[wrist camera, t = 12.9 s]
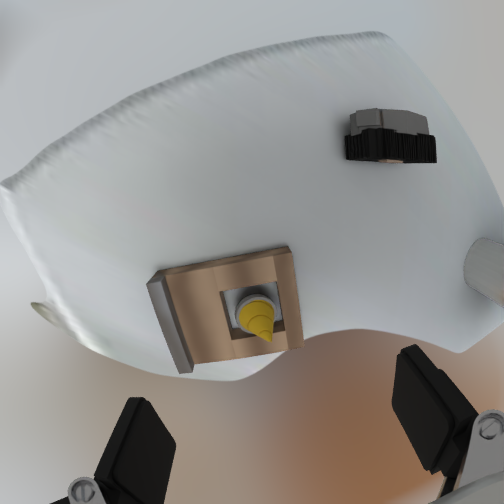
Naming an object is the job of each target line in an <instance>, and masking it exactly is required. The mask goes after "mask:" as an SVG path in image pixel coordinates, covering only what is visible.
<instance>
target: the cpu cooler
mask: <svg viewBox="0 0 504 504" xmlns="http://www.w3.org/2000/svg"><path fill="white" fill-rule="evenodd" d="M350 125H351V134H350V135H348V136H345V147H346V160H355V161H375V162H385V163H437V158H436V140H435V137H434V136H433V135H429V129H428V123H427V119H426V117H425V116H422V115H419V114H416V113H413V112H410V111H404V110H387V109H377V108H374V109H366V110H358V111H356V113H354V114H351V115H350Z"/></svg>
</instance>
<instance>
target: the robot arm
mask: <svg viewBox="0 0 504 504" xmlns="http://www.w3.org/2000/svg"><path fill="white" fill-rule="evenodd" d="M464 279H465V281H466V283H467V285H468V286H470V287H472V288H473V289H475V290H477V291H478V292H480V293H481V294H483V295H485V296H486V297H488V298H489V299H491V300H492V301H494V302H496V303H497V304H499V305H500V306H502V307H503V308H504V245H502V244H499V243H497V242H494V241H491V240H489V239H486V238H481V239H479V240H477V241H476V242H475V243H474V244H473V245H472V246H471V248H470V249H469V251H468V254H467V256H466V259H465V263H464ZM392 407H393V410H394V412H395V413H396V415H397V417H398V419H399V421H400V423H401V425H402V427H403V428H404V430H405V432H406V434H407V436H408V438H409V440H410V442H411V444H412V446H413V448H414V450H415V452H416V454H417V456H418V457H419V459H420V462H421V464H422V466H423V468H424V469H425V470H426V471H427V470H430V472H431V474H432V475H433V474H434V473H436V472H438V471H440V470H441V472H442V474H443V475H444V476H445V477H444V480H443V484H442V486H441V489H440V491H439V494H438V496H437V499H436V500H435V501H433V502H431V503H428V504H504V413H503V412H501V411H498V410H487V411H485V412H482V413H481V414H480V415H479V414H478V413H477V411H476V410H475V409H474V408H473V406H472V405H471V404H470V403H469V401H468V400H467V399H466V397H465V396H464V395H463V394H462V393H461V392H460V390H459V389H458V388H457V386H456V385H455V384H454V383H453V382H452V380H451V379H450V378H449V377H448V376H447V374H446V373H445V372H444V371H443V370H441V369H438V368H437V367H436V366H435V365H434V364H433V363H432V361H431V360H430V359H429V358H428V357H427V356H426V354H425V353H424V352H423V351H422V350H421V349H420V348H419V346H417V345H416V344H414V345H411V346H408V347H406V348H403V349H401V352H400V354H398V355H397V362H396V372H395V380H394V388H393V396H392ZM175 450H176V443H175V441H174V439H173V437H172V436H171V434H170V433H169V432H168V430H167V428H166V427H165V425H164V424H163V422H162V421H161V419H160V418H159V416H158V414H157V413H156V411H155V410H154V408H153V406H152V405H151V403H150V402H149V401H147V400H146V399H145V398H143V397H130V398H129V399H128V400H127V402H126V404H125V407H124V409H123V411H122V413H121V415H120V417H119V420H118V421H117V424H116V426H115V428H114V430H113V433H112V435H111V437H110V439H109V441H108V444H107V446H106V448H105V450H104V453H103V455H102V457H101V459H100V462H99V464H98V466H97V469H96V471H95V474H94V476H95V477H94V479H92V478H89V477H80V478H77V479H76V480H74V481H73V482H72V483H71V484H70V486H69V488H68V496H67V497H65V498H63V499H60V500H58V501H56V502H53V503H51V504H164V500H165V495H166V491H167V485H168V481H169V477H170V472H171V468H172V463H173V459H174V454H175Z"/></svg>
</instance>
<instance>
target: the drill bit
mask: <svg viewBox="0 0 504 504" xmlns="http://www.w3.org/2000/svg"><path fill="white" fill-rule="evenodd" d="M276 317H277V309H276V306H275V304H274V303H273V302H272V300H271V299H270V298H269V297H267V296H265V295H262V294H253V295H249V296H247V297H245V298H244V299H242V300H241V301H240V302H239V304H238V305H237V307H236V310H235V319H236V322H237V324H238V326H239V327H240V328H241V329H242V330H243V331H245V332H247V333H251V334H255V335H257V336H259V337H261V338H263V339H264V340H266V341H268V342H271V343H272V336H273V324H274V322H275V320H276Z"/></svg>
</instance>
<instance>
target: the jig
mask: <svg viewBox="0 0 504 504" xmlns="http://www.w3.org/2000/svg"><path fill="white" fill-rule="evenodd" d="M275 281H276V283H277V289H278V295H279V301H280V307H281V313H282V319H283V320H282V321H276V322H274V324H273V336H272V343H271V342H268V341H266V340H264V339H263V338H261V337H259V336H257V335H255V334H251V333H247V332H245V331H243V330H242V329H241V328H237V329H232V326H231V322H230V318H229V314H228V310H227V306H226V302H225V298H224V294H223V291H226V290H232V289H237V288H243V287H248V286H254V285H259V284H264V283H270V282H275ZM146 285H147V289H148V292H149V295H150V298H151V301H152V304H153V307H154V310H155V312H156V315H157V318H158V321H159V324H160V326H161V329H162V332H163V335H164V337H165V340H166V342H167V345H168V348H169V350H170V353H171V355H172V358H173V360H174V362H175V365H176V367H177V370H178V372H179V374H182V373H192V372H193V368H194V364H200V363H209V362H217V361H225V360H232V359H239V358H246V357H252V356H258V355H264V354H270V353H275V352H281V351H286V350H291V349H296V348H301V347H304V339H303V330H302V323H301V315H300V307H299V300H298V293H297V285H296V278H295V272H294V265H293V258H292V252H291V251H290V249H289V247H288V246H287V247H282V248H276V249H271V250H266V251H261V252H255V253H250V254H245V255H239V256H234V257H229V258H223V259H218V260H213V261H207V262H202V263H197V264H191V265H186V266H181V267H175V268H170V269H165V270H159V271H157V272H156V273H155V274H154V276H153V277H152V278H151V279H150V280H149V281H148V283H147V284H146Z"/></svg>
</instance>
